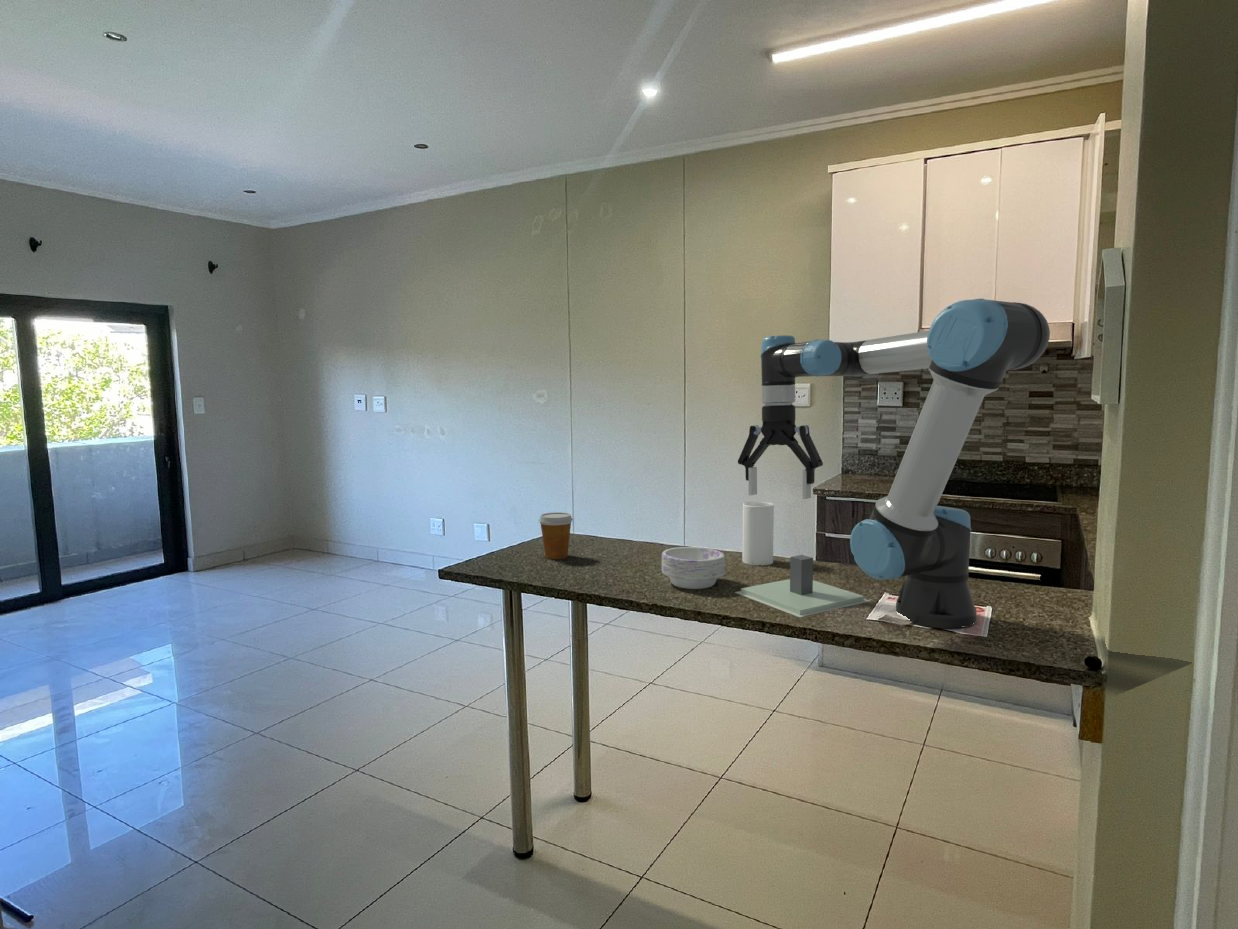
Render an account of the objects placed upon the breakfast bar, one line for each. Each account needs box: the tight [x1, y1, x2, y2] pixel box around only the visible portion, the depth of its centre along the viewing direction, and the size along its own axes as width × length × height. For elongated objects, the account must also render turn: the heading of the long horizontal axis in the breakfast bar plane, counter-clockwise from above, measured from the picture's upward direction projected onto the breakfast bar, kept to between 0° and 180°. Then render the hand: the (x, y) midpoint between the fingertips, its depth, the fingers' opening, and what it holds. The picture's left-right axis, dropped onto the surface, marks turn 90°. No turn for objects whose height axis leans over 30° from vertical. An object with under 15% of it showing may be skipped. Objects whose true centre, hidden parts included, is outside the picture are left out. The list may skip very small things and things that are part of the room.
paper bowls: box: [661, 546, 726, 590], centre depth 172 cm, size 15×15×8 cm
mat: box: [734, 590, 871, 618], centre depth 161 cm, size 21×21×1 cm
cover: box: [740, 554, 865, 615], centre depth 160 cm, size 19×19×9 cm
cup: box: [741, 501, 775, 566], centre depth 193 cm, size 8×8×16 cm
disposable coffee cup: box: [538, 512, 573, 560], centre depth 202 cm, size 10×10×12 cm
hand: (779, 496), depth 165 cm, fingers open, 13 cm apart
